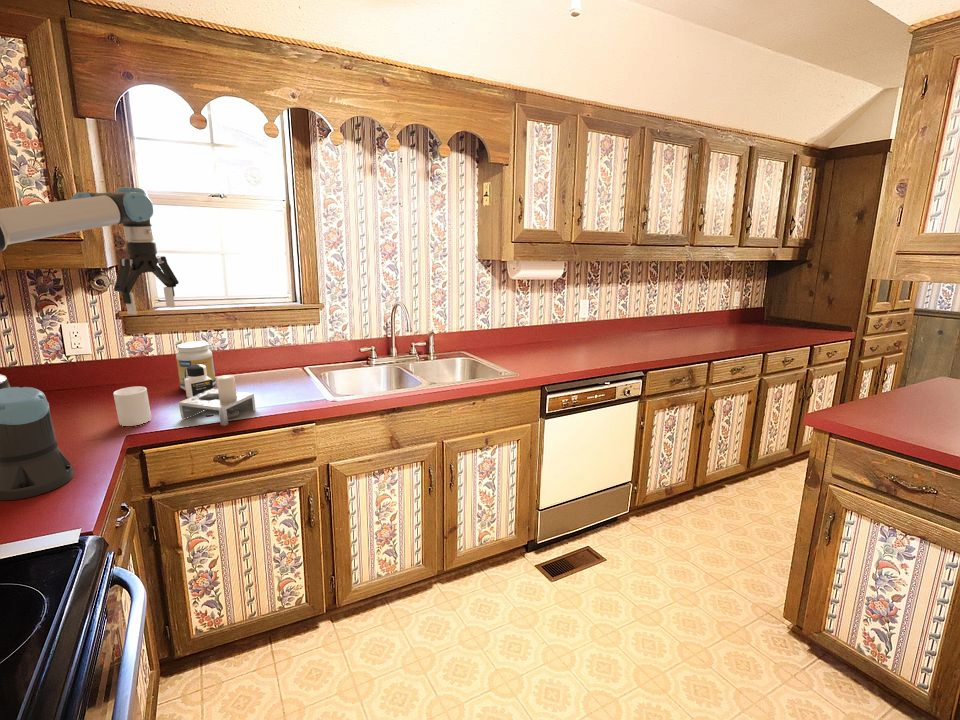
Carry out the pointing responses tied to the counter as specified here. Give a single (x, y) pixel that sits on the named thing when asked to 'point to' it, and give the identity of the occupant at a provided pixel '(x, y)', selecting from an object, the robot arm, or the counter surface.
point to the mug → (132, 406)
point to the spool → (227, 392)
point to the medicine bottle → (197, 380)
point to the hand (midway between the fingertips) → (152, 310)
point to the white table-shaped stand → (215, 404)
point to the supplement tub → (194, 359)
